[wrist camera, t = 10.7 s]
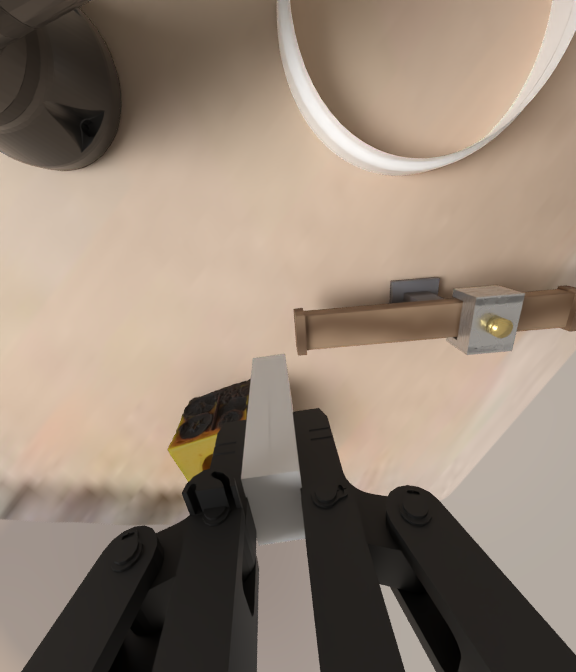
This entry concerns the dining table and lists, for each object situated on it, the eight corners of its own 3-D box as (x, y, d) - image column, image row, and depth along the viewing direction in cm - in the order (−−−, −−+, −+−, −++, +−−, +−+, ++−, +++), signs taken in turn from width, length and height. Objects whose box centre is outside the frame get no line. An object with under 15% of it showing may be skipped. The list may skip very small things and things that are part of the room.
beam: (290, 289, 38) (294, 305, 31) (534, 268, 38) (594, 279, 31) (294, 339, 40) (298, 365, 33) (522, 319, 41) (575, 340, 34)
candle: (252, 377, 42) (247, 421, 33) (276, 430, 46) (277, 483, 37) (187, 398, 43) (164, 447, 34) (215, 449, 47) (201, 506, 37)
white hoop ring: (600, -179, 25) (685, -282, 20) (503, 181, 35) (543, 174, 29) (279, -219, 23) (281, -342, 18) (274, 170, 33) (274, 161, 28)
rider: (453, 288, 33) (484, 300, 28) (496, 285, 33) (535, 296, 28) (446, 340, 36) (473, 359, 31) (486, 337, 36) (520, 355, 31)
